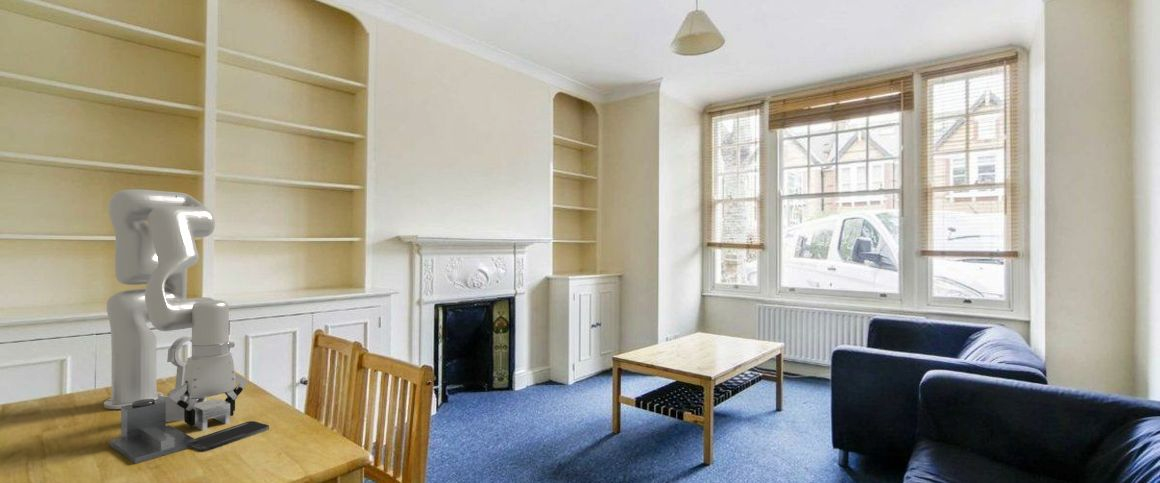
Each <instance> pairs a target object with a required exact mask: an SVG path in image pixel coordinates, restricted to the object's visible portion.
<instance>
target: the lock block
mask: <svg viewBox="0 0 1160 483" xmlns="http://www.w3.org/2000/svg"><path fill="white" fill-rule="evenodd" d="M193 409H194V410H195V425H194V426H193V427H195V428H198V430H200V431H205V430H208V419H210V418H211V419H212V418H213V420H217V421H218V422H221V423H222V424H224V425H227V424H230V423H231V416H230V403H228V402H226V401H225V400H223V399H221V398H218V397H216V398H214V399H208V400H206V401H203V402H199V403H195V405H194V406H193Z"/></svg>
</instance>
